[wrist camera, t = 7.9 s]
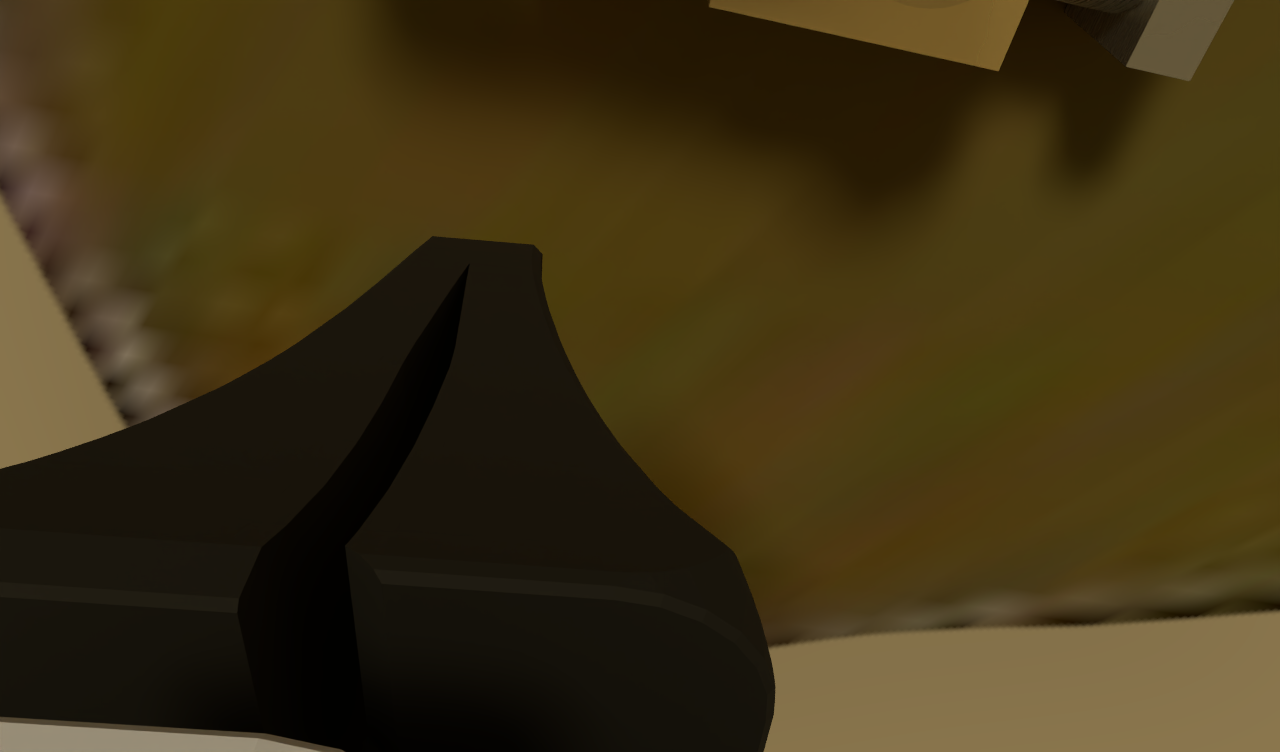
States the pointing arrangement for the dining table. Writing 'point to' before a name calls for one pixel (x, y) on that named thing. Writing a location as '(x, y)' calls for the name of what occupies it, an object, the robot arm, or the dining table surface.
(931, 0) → the lever
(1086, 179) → the dining table surface
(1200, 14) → the valve
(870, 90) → the dining table surface
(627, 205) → the dining table surface
